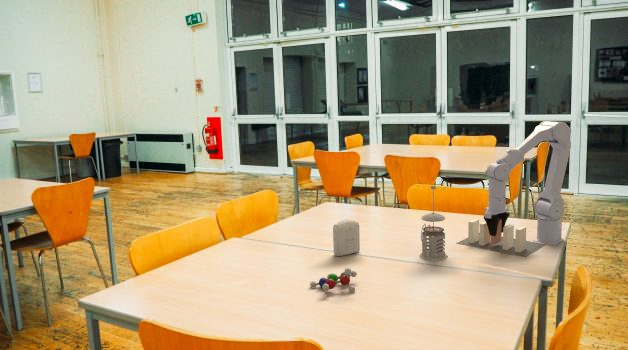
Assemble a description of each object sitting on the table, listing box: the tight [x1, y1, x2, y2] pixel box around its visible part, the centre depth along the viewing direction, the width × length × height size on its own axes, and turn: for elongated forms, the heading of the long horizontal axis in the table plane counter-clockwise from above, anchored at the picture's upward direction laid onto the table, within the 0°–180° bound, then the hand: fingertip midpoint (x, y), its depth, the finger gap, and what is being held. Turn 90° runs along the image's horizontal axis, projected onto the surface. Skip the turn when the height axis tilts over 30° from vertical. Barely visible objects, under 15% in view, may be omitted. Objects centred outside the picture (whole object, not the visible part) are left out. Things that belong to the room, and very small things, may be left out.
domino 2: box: [479, 220, 490, 246], centre depth 186 cm, size 5×2×8 cm, turn 135°
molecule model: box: [309, 267, 358, 293], centre depth 153 cm, size 15×7×14 cm
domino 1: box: [467, 218, 480, 243], centre depth 189 cm, size 5×2×8 cm, turn 135°
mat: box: [456, 232, 548, 258], centre depth 186 cm, size 18×26×1 cm
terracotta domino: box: [491, 220, 502, 244], centre depth 183 cm, size 5×2×8 cm, turn 136°
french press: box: [419, 185, 449, 262], centre depth 174 cm, size 10×12×25 cm
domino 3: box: [502, 223, 515, 250], centre depth 180 cm, size 5×2×8 cm, turn 135°
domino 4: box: [514, 225, 527, 252], centre depth 177 cm, size 5×2×8 cm, turn 135°
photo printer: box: [332, 219, 361, 257], centre depth 183 cm, size 10×4×12 cm, turn 123°
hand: (496, 233), depth 183 cm, fingers closed on terracotta domino, 5 cm apart
